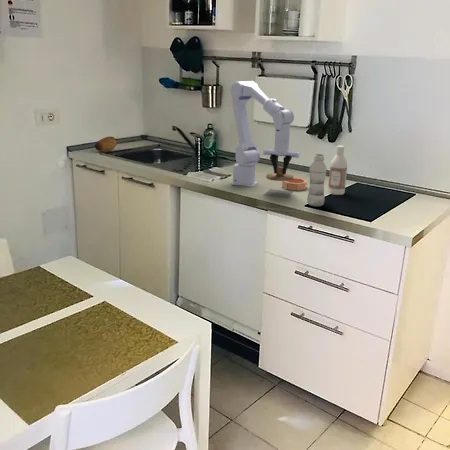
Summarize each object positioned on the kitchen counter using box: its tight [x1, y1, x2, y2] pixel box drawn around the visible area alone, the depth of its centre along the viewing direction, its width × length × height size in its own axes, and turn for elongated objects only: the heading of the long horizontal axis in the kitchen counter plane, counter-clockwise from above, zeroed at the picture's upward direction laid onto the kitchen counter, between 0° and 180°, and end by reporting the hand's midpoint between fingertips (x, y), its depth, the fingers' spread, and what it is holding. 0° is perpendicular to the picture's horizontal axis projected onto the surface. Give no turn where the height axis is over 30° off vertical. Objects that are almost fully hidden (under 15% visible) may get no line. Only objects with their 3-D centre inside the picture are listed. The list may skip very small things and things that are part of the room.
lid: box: [265, 166, 294, 182], centre depth 215 cm, size 11×11×4 cm
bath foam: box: [327, 145, 348, 196], centre depth 219 cm, size 7×7×20 cm
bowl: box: [281, 177, 308, 192], centre depth 227 cm, size 10×10×4 cm
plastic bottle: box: [306, 153, 328, 207], centre depth 201 cm, size 6×7×20 cm
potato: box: [94, 135, 117, 153], centre depth 290 cm, size 8×13×8 cm
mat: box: [264, 188, 293, 199], centre depth 218 cm, size 10×10×1 cm
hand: (279, 173), depth 215 cm, fingers closed on lid, 3 cm apart
